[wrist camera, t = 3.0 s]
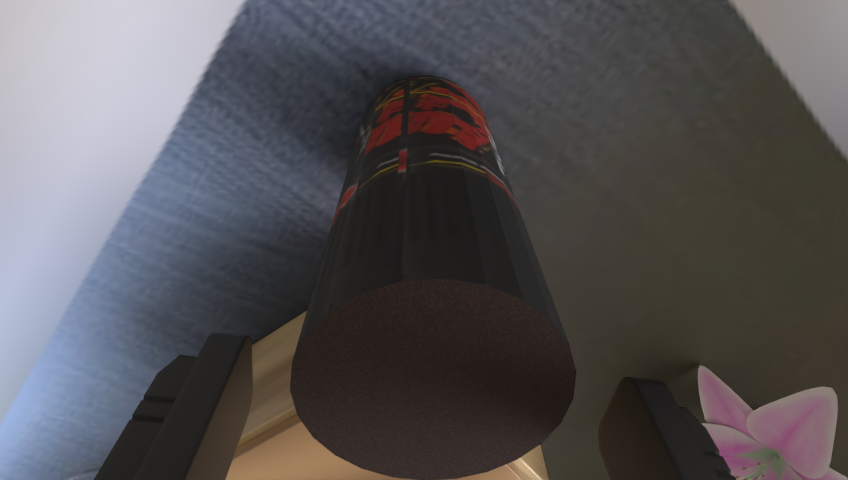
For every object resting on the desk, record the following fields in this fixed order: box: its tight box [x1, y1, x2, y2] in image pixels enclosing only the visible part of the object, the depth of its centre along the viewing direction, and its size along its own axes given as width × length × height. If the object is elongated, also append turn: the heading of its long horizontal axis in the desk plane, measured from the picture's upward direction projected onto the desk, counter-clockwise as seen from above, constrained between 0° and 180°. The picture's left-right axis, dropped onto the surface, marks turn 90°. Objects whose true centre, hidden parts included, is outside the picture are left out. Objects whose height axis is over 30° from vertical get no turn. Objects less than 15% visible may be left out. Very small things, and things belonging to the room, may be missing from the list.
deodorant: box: [290, 76, 576, 480], centre depth 17 cm, size 6×6×15 cm
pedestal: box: [226, 311, 549, 480], centre depth 27 cm, size 12×12×8 cm
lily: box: [698, 365, 848, 480], centre depth 30 cm, size 12×12×10 cm
